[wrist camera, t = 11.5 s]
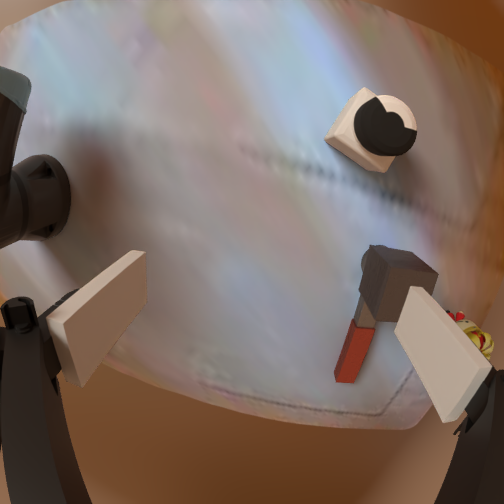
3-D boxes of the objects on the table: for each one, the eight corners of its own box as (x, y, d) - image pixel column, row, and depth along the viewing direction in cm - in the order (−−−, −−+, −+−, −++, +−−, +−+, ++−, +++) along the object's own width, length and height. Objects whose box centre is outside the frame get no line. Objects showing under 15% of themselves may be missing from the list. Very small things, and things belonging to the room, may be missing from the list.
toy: (451, 290, 39) (500, 339, 24) (464, 315, 40) (507, 363, 25) (420, 319, 41) (460, 376, 26) (436, 341, 42) (472, 396, 27)
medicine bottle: (367, 171, 35) (403, 177, 23) (322, 140, 34) (342, 131, 23) (392, 129, 33) (435, 120, 21) (349, 98, 32) (378, 73, 21)
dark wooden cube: (369, 244, 35) (391, 267, 27) (411, 251, 34) (438, 274, 27) (358, 289, 37) (374, 320, 29) (398, 294, 36) (420, 323, 29)
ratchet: (365, 242, 38) (384, 262, 30) (397, 247, 37) (421, 267, 30) (328, 371, 45) (334, 404, 38) (356, 373, 45) (365, 405, 37)
